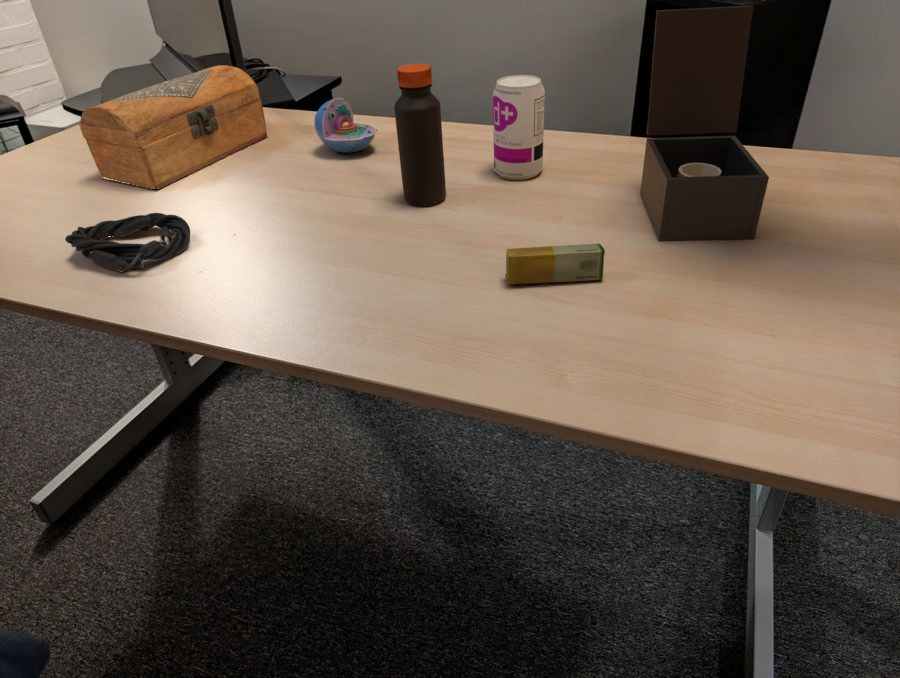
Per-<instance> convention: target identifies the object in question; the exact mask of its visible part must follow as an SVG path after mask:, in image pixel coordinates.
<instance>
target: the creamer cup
mask: <svg viewBox="0 0 900 678" xmlns="http://www.w3.org/2000/svg"><path fill="white" fill-rule="evenodd" d="M721 174H722V171H721V169H720V168H718V167H716V166H714V165H711V164H706V163H688V164H685V165H682V166H680V168H679V169H678V175H677V177H703V176H721Z"/></svg>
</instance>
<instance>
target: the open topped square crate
mask: <svg viewBox="0 0 900 678" xmlns="http://www.w3.org/2000/svg"><path fill="white" fill-rule="evenodd" d="M688 163H706V164H711V165H714V166H716V167H718V168H720V169H721V171H722V174H721V176H703V177H677V175H678V169H679V168H680V166H682V165H685V164H688ZM769 180H770V176H769V175H768V174H767V173H766V171H765V170H764V169H763V168H762V166H761V165H760V164H759V163H758V162H757V160H756V159H755V158H754V157H753V156H752V154H751V153H750V151H748V150H747V148H745V145H744V144H743V143H742V142H741V141H740V140H739V139H738V137H737V135H708V136H707V135H706V136H703V135H702V136H674V137H647V138H646V142H645V150H644V157H643V166H642V173H641V183H640V191H639V195H640V198H641V200H642V203H643V205H644V208H645V210H646V213H647V214H648V217H649V220H650V222H651V225H652V228H653V231H654V233H655V235H656V239H657V240H658V242H666V241H667V242H669V241H670V242H672V241H721V240H722V241H723V240H724V241H725V240H726V241H727V240H755V238H756V233H757V229H758V224H759V221H760V217H761V213H762V209H763V206H764V205H763V204H764V200H765V196H766V191H767V188H768V185H769Z"/></svg>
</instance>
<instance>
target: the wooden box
mask: <svg viewBox="0 0 900 678" xmlns="http://www.w3.org/2000/svg"><path fill="white" fill-rule="evenodd" d="M261 99H262V98H261V95H260V90H259V87H258V85H257V83H256V82H255V81H254V80H253V78H252V77H251V76H250V75H249V74H248V73H247V72H245V70H243V69H241V68H239V67H236V66H233V65H224V64H222V65H214V66H210V67H208V68H203V69H202V70H198V71H196V72H193V73H188V74H185V75H181V76H179V77H173V78H171V79H168V80H165V81H161V82H159V83H156V84H152V85H149V86H148V87H143V88H140V89H138V90H135V91H131V92H130V93H127V94H124V95H121V96H119V97H117V98H114V99H111V100H109V101H105V102H103V103H101V104H98V105H97V104H96V105H94V106H91V107H87V108H84V111H83V112H82V114H81V116H80V121H79V123H78V126H79V129H80V131H81V135H82V137H83V138H84V139H85V141H86V144H87V147H88V150H89V152H90V154H91V156H92V159H93V162H94V163H95V166H96V168H97V170H98V172H99V174H100V177H101V178H102V177H106V178H109V179H113V180H117V181H120V182H125V183H129V184H134V185H138V186H142V187H141V188H143V187H146V188H145V189H148V188H151V189H150V190H152V189H158V188H161V187H163V186H165V185H167V186H169V185H170V184H169V183H171V184H173V183H174V182H173V181H175V182H177V181H179V180H181V179H183V178H185V177H187V176H189V175H191V174H194V173H195V172H197V171H199V170H201V169H203V168H205V167H208V166H209V165H211V164H213V163H216V162H218V161H220V160H222V159H224V158H226V157H228V156H229V155H231V154H233V153H236V152H238V151H240V150H242V149H244V148H247V147H248V146H249V147H250V146H251V145H253V144H255V143H257V142H260V141H262V140H263V139H265V138H266V137H267V136H268V130H267V124H266V119H265V118H266V117H265V112H264V108H263V103H262V100H261ZM186 175H187V176H186ZM184 176H185V177H184ZM182 177H183V178H182ZM180 178H181V179H180ZM178 179H179V180H178ZM176 180H177V181H176ZM172 182H173V183H172ZM129 184H128V185H129ZM168 184H169V185H168ZM138 186H137V187H138ZM165 187H166V186H165ZM163 188H164V187H163ZM161 189H162V188H161Z"/></svg>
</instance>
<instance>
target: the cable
mask: <svg viewBox="0 0 900 678" xmlns="http://www.w3.org/2000/svg"><path fill="white" fill-rule="evenodd" d="M155 227H157V228H159V232H158V233H159V236H160V240H161V241H158V240H155V239H154V240H151V241H149V242H146V243H125V242H123V243H121V242H117V241H113V240H106V239H107V238H106V237H108V236H111V238H113V237H112V236H115V237H117V238H121V237H126V236H129V235H132V234H133V233H135V232H138V231H145V232H146V231H150V230H152V229H153V228H155ZM171 231H172V232H174V233H175V235H173V236H172V235H171ZM190 238H191V229H190V226H189V224H188V222H187V221H186V220H185V219H184V218H183V217H181V216H179V215H176V214H165V213H161V212H151V213H148V214H139V215H133V216H128V217H125V218H121V219H117V220H103V221H101V222H100V221H99V222H98V223H96V224H95V225H90V226H86V227H82V226H78V227H77V230H73V231H72V232H71V234H68V235H66V237H65V238H64V239H65V242H66V243H68V244H70V246H71V247H72V248H75V250H76V252H81V254H82V255H83V257H85V258H86V259H87V260H90V261H92V262H93V263H94V264H96V265H98V266H101V267H103V268H106V267H107V269H110V270H113V269H114V270H113V271H116V270H118V271H117V272H120V271H123V272H125V271H126V270H127V271H128V270H131V269H135V268H134V267H143V268H144V267H145V266H144V261H145V262H146V261H158V260H163V259H165V258H171V257H174V256H176V255H178V254H180V253H182V252H183V251H184V250H185V249H186V248H187V246H188V244H189V243H190ZM101 239H102V240H101ZM132 267H133V268H132ZM124 270H125V271H124Z"/></svg>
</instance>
